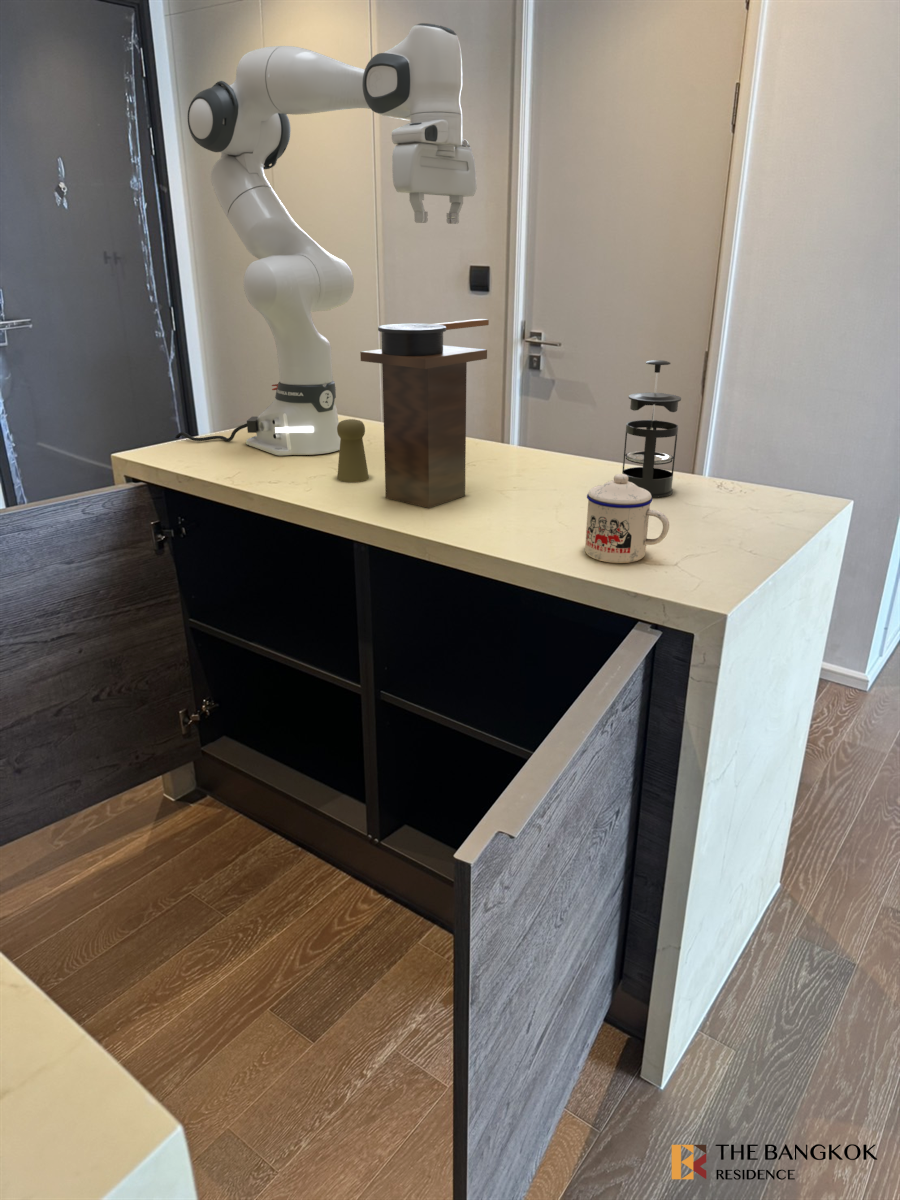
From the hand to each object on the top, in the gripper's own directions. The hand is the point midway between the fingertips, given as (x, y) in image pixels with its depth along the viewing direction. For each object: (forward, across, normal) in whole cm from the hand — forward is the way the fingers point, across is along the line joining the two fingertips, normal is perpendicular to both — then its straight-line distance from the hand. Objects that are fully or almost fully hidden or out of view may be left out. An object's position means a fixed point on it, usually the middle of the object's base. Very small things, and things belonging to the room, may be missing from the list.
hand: (437, 223), depth 153 cm
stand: (+45, +17, +9) cm, 49 cm away
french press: (+45, -10, +39) cm, 61 cm away
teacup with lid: (+45, +24, +51) cm, 72 cm away
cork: (+45, +15, -10) cm, 48 cm away
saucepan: (+20, +13, +10) cm, 26 cm away
